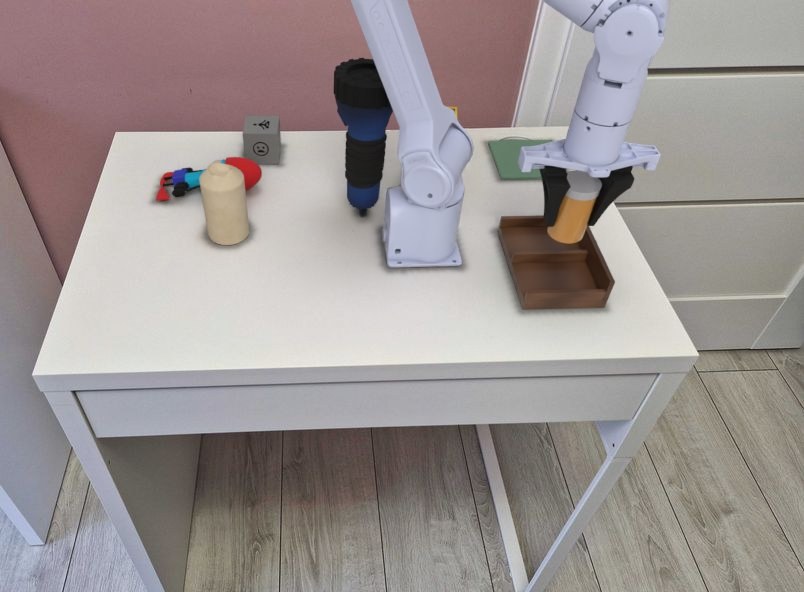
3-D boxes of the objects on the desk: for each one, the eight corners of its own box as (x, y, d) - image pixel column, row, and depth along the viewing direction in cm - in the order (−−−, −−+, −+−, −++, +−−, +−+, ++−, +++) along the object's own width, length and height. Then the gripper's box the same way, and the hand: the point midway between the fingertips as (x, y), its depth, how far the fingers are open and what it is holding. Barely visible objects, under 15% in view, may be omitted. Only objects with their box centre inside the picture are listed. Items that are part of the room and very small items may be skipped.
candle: (256, 225, 93) (250, 160, 86) (239, 249, 90) (231, 184, 83) (219, 216, 95) (209, 151, 87) (200, 240, 91) (189, 175, 84)
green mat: (501, 179, 101) (501, 177, 101) (488, 143, 108) (488, 140, 108) (568, 178, 102) (569, 176, 101) (551, 142, 108) (551, 139, 108)
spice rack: (522, 309, 83) (530, 284, 80) (497, 231, 93) (503, 205, 90) (604, 307, 83) (615, 281, 80) (570, 230, 94) (579, 204, 90)
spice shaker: (551, 244, 80) (567, 193, 75) (542, 221, 83) (556, 170, 77) (588, 243, 80) (607, 193, 75) (578, 220, 83) (595, 170, 78)
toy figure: (159, 213, 97) (263, 200, 95) (147, 182, 94) (254, 168, 92) (169, 186, 103) (268, 172, 101) (158, 156, 100) (260, 141, 98)
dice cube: (278, 164, 103) (277, 133, 100) (245, 163, 103) (242, 133, 100) (281, 146, 107) (279, 116, 103) (248, 145, 107) (245, 115, 103)
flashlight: (369, 188, 99) (377, 50, 85) (401, 218, 95) (415, 77, 80) (321, 205, 97) (321, 65, 82) (352, 236, 92) (357, 94, 77)
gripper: (541, 134, 67) (513, 244, 77) (688, 132, 68) (641, 242, 78) (525, 97, 72) (500, 206, 82) (662, 96, 72) (621, 204, 82)
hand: (568, 221), depth 80 cm, fingers closed on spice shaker, 4 cm apart
